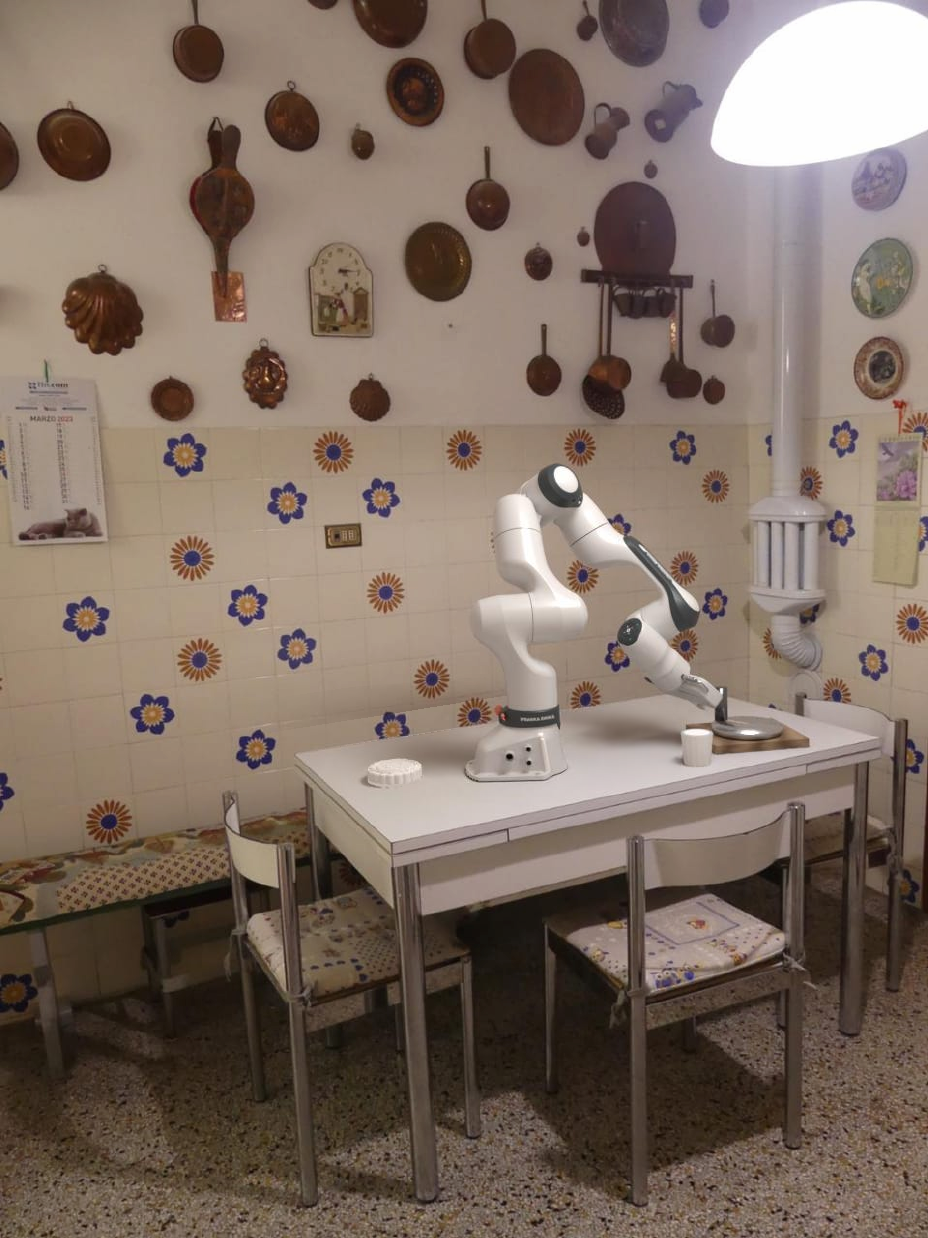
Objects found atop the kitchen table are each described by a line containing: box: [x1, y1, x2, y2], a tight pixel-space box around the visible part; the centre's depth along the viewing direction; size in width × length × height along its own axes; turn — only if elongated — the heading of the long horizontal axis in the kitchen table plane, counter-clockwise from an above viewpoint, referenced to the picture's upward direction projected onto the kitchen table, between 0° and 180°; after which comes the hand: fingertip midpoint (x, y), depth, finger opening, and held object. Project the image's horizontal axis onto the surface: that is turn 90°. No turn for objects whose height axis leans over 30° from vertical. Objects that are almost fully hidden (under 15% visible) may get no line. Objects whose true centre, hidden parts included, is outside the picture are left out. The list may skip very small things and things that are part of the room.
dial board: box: [685, 717, 810, 755], centre depth 223 cm, size 22×20×2 cm
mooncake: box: [366, 757, 423, 785], centre depth 207 cm, size 12×12×4 cm
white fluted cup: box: [680, 729, 713, 768], centre depth 207 cm, size 7×7×7 cm
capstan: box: [712, 685, 784, 740], centre depth 222 cm, size 16×16×10 cm
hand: (705, 707), depth 225 cm, fingers closed
